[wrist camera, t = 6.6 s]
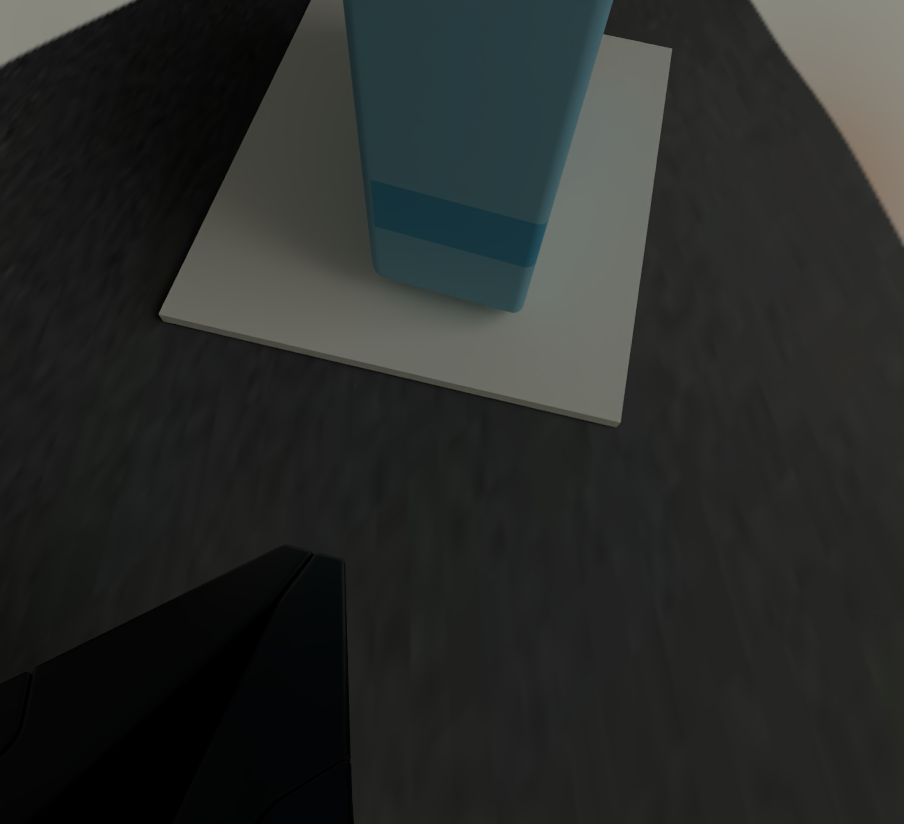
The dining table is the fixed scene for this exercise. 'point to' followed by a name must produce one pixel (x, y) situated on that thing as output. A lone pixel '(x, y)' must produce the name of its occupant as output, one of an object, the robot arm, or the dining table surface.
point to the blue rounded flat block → (467, 133)
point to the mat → (410, 307)
